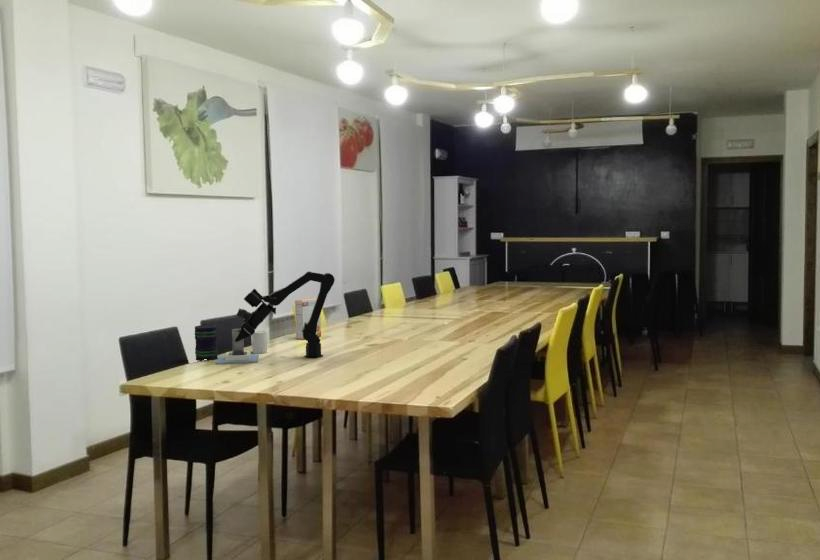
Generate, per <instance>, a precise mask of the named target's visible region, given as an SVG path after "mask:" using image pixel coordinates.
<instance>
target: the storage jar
mask: <svg viewBox="0 0 820 560" xmlns="http://www.w3.org/2000/svg"><path fill="white" fill-rule="evenodd" d="M217 328H218V327H217V325H216V324H201V325H196V326H194V339H195V348H194V349H195V352H194V354H195V361H198V362H203V361H202V360H204V359H207V360H211V361H215V360H216V361H217V358H218V356H219V355H218V352H219V351H218V345H217V344H218V343H217V338H218V332H217V331H218V329H217Z"/></svg>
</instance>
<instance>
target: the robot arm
mask: <svg viewBox="0 0 820 560" xmlns="http://www.w3.org/2000/svg"><path fill="white" fill-rule="evenodd" d="M335 279H336V278H335V276H334V275H333V274H332V273H330V272H325V273H319V272H313V271H306V272H305V273H304V274H303V275H302V276H300V277H298V278H297V279H295V280H294V281H292V282H291V283H290V284H288V285H286V286H284V287H282V288H279V289H277V290H275V291H273V292H271V293H270V294H268V295H262V294H261V293H260V292H259V291H258V290H257V288H253V289H252V290H251V291H250V292H248V294H246V296H245V297H244V298H243V300H244V301H245V302H246V303H247V304H248V305H249V306H251V308H255V310H254V311H252V312H250V311H247V309H244V308H243V309H242V308H240V307H239V308H238V311H237V313H236V317H238V318H242V319H243V321H242V322H241V325H240V329H241V332H240V333H239V335H238V336H237V338H236V339H235V341H236V342H238V341H240V340H242V339H244V340H245V339H247V338H249V337H251V335H253V334H254V333H255V331H256V330H257V328H258V326H260V325H261V324H262V323H263V322H264V320H265V319H266V318H267V317H268V316H269V315H270V314H271V313H273V314H274V315H276V314H277V306H279V305H281V303H283V301H284V300H286V299H287V297H289V295H291V294H293V292H295V291H297V290H298V289H300V288H301V287H303V286H305V285H306V284H307V283H309V282H310V281H311V282H316V283H320V284H319V285H320V286H319V291H318V294H317V297H316V298H317V300H316V303H315V305H314V308H313V311H312V314H311V317H310V320H309V321H308V323H306V322H304V327H303V329H302V332H303V333H302V334H303V338H304V339H305V340H304V341H306V342H307V343H306V344H305V345H306V346H305V355H304V356H303V357H305V358H312V359H316V358H320V357H324V354H322V343H321V338H320V337H318V336H317V335H316V330H317V322H318V319H319V316H320V314H321V313H322V310H323V308H324V305H325V302H326V299H327V296H328V295H329V292H330V291H331V289H332V287H333V285H334V284H335ZM267 303H268V304H267ZM275 306H276V307H275Z"/></svg>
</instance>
